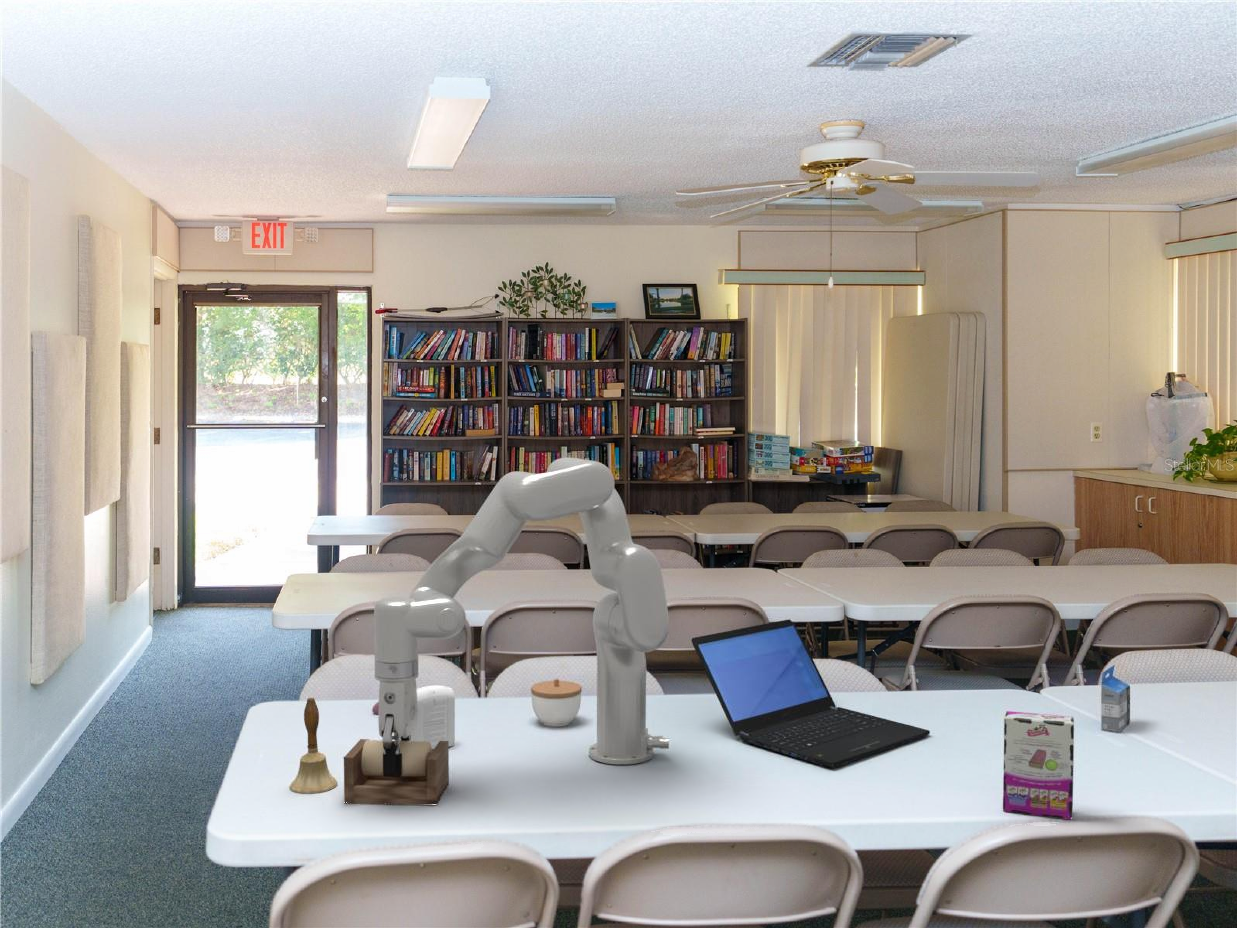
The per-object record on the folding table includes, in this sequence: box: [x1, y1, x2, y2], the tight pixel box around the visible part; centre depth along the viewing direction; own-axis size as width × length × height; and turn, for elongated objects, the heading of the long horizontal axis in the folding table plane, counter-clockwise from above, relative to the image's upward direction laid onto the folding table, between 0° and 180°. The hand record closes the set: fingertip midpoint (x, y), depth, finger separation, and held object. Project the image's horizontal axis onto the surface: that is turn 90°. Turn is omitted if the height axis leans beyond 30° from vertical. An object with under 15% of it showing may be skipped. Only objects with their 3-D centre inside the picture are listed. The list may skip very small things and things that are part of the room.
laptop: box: [691, 619, 931, 769], centre depth 243 cm, size 33×38×19 cm
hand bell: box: [289, 697, 338, 795], centre depth 210 cm, size 8×8×16 cm
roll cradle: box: [343, 738, 450, 805], centre depth 206 cm, size 16×10×8 cm, turn 87°
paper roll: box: [361, 739, 433, 777], centre depth 206 cm, size 11×6×6 cm, turn 87°
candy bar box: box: [1002, 710, 1075, 820], centre depth 199 cm, size 11×5×16 cm, turn 69°
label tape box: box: [1100, 665, 1131, 734], centre depth 248 cm, size 9×4×12 cm, turn 143°
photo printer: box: [410, 684, 456, 750], centre depth 232 cm, size 10×4×12 cm, turn 123°
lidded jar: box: [530, 678, 583, 728], centre depth 250 cm, size 11×11×9 cm
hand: (397, 768), depth 206 cm, fingers closed on paper roll, 6 cm apart
